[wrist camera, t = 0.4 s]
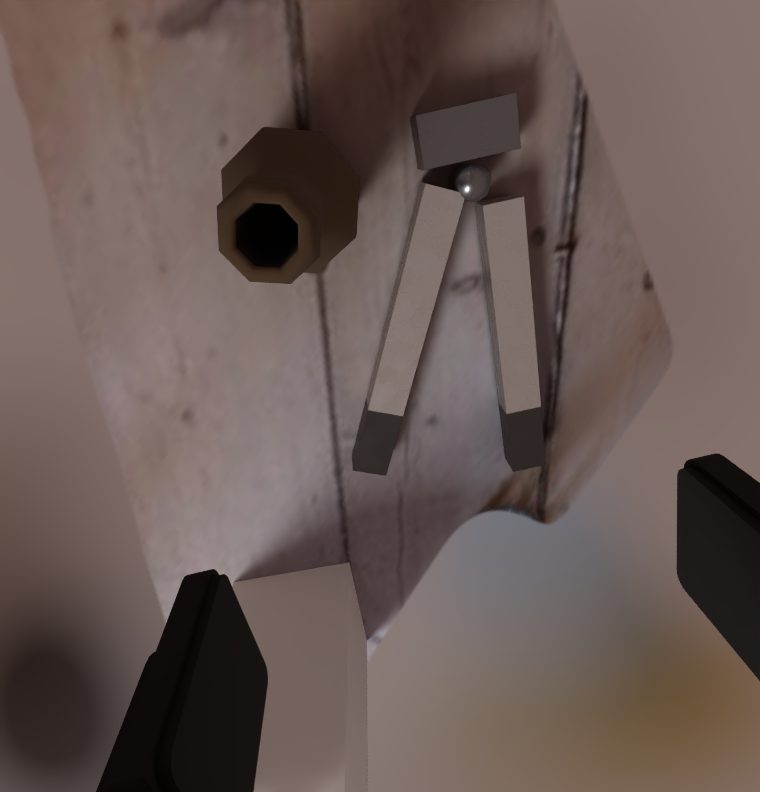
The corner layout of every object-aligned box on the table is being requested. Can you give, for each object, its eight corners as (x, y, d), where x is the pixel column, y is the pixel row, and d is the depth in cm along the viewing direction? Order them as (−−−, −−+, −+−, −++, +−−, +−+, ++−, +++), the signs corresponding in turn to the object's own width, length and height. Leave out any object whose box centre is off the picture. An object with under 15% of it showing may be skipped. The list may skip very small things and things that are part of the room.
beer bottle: (334, 113, 37) (336, 64, 16) (369, 222, 41) (411, 306, 19) (231, 151, 38) (96, 154, 16) (274, 256, 41) (210, 375, 20)
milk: (260, 658, 59) (212, 992, 36) (233, 582, 54) (157, 910, 31) (366, 640, 59) (388, 961, 36) (349, 562, 55) (360, 874, 31)
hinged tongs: (409, 117, 38) (415, 115, 35) (503, 96, 38) (516, 92, 35) (464, 464, 51) (472, 481, 48) (535, 448, 51) (546, 465, 48)
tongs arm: (427, 152, 39) (433, 152, 36) (486, 168, 39) (496, 169, 37) (352, 455, 49) (352, 470, 47) (400, 463, 50) (403, 478, 47)
